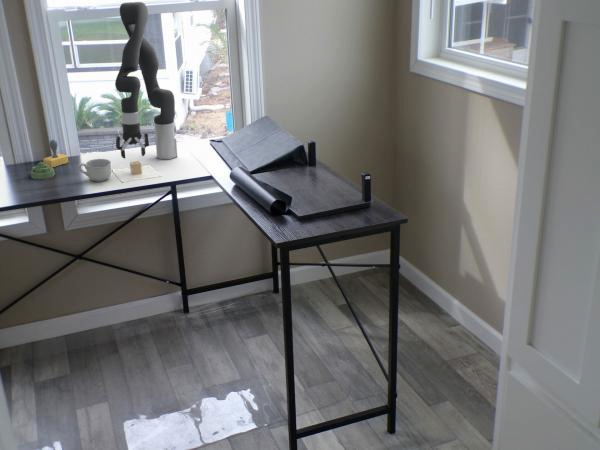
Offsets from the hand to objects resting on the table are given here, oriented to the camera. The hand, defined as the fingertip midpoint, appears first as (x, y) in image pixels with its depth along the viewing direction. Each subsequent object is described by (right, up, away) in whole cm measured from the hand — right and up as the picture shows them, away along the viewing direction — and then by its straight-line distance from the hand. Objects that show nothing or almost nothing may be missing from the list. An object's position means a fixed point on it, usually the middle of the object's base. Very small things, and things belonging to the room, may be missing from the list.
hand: (133, 156), depth 302 cm
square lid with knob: (0, -8, +4) cm, 9 cm away
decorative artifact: (-41, -9, 0) cm, 42 cm away
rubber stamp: (-40, -2, +15) cm, 43 cm away
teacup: (-15, -11, -4) cm, 19 cm away
